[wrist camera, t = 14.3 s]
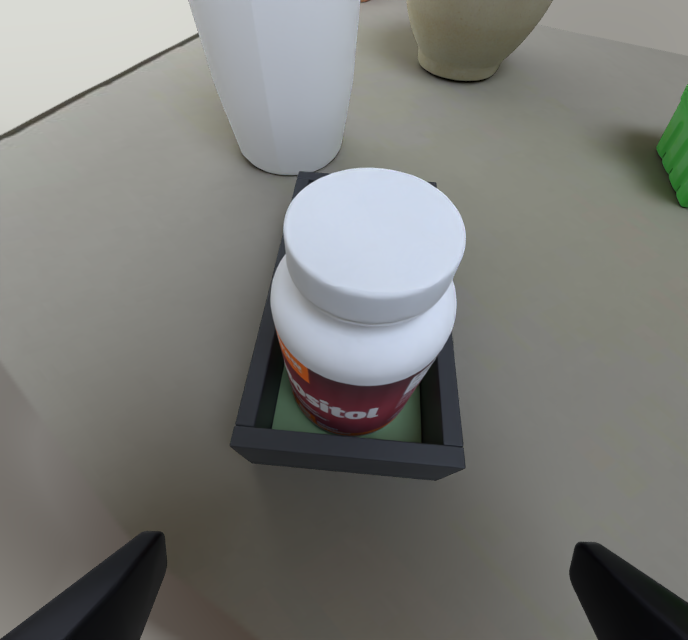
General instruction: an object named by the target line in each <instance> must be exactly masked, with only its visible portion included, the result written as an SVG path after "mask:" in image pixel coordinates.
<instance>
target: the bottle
mask: <svg viewBox="0 0 688 640" xmlns="http://www.w3.org/2000/svg"><path fill="white" fill-rule="evenodd" d="M188 1H189V4H190V7H191V11H192V14H193V17H194V20H195V23H196V27H197V30H198V33H199V37H200V40H201V43H202V46H203V50H204V53H205V56H206V59H207V63H208V66H209V69H210V72H211V76H212V79H213V82H214V85H215V87H216V90H217V93H218V95H219V98H220V100H221V103H222V105H223V108H224V110H225V113H226V115H227V118H228V120H229V123H230V125H231V128H232V130H233V133H234V135H235V138H236V140H237V143H238V145H239V148H240V150H241V152H242V154H243V155H244V156H245V157H246V158H247V159H248V160H249V161H250V162H251V163H252V164H253V165H255V166H256V167H258V168H260V169H262V170H264V171H266V172H269V173H274V174H279V175H298V173H299V171H304V172H314V171H316V170H318V169H321V168H323V167H325V166H326V165H327V164H328V163H329V162H331V161H332V160H333V159H334V158H335V156H336V155H337V154H338V152H339V149H340V147H341V145H342V140H343V134H344V129H345V123H346V118H347V112H348V107H349V101H350V96H351V90H352V85H353V76H354V65H355V54H356V43H357V32H358V21H359V11H360V0H188Z"/></svg>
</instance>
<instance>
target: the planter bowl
mask: <svg viewBox="0 0 688 640" xmlns="http://www.w3.org/2000/svg"><path fill="white" fill-rule="evenodd" d="M552 1H553V0H407V8H408V14H409V20H410V24H411V28H412V31H413V35H414V38H415V40H416V43H417V45H418V61H419V63H420V65H421V66H422V67H423V68H424V69H425V70H427V71H429V72H430V73H432V74H433V75H438V76H440V77H444V78H448V79H453V80H461V81H476V80H482V79H486V78H489V77H490V76H492V75H493V74H494V73H495V72H496V71H497V69H498V67H499V65H500V63H501V62H502V61H503V60H504V59H505V58H506V57H507V56H509V55H510V54H511V53H512V52H513V51H514V50H515V49H516V48H517V47H518V46H519V45H520V44H521V43H522V42H523V41H524V40H525V39H526V37H527V36H528V35H529V34H530V33H531V31H532V30H533V29H534V28H535V26H536V25H537V24H538V22H539V21H540V20H541V18H542V17H543V15H544V14H545V12H546V11H547V9H548V7H549V6H550V4H551V3H552Z"/></svg>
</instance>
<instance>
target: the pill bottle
mask: <svg viewBox="0 0 688 640" xmlns="http://www.w3.org/2000/svg"><path fill="white" fill-rule="evenodd" d="M283 233H284V242H285V251H286V254H285V255H284V257H283V258H282V260H281V261H280V263H279V265H278V267H277V269H276V272H275V275H274V278H273V281H272V287H271V296H270V302H271V311H272V316H273V320H274V324H275V328H276V332H277V336H278V339H279V343H280V347H281V351H282V355H283V358H284V362H285V366H286V369H287V373H288V377H289V381H290V384H291V388H292V392H293V395H294V398H295V400H296V402H297V404H298V406H299V408H300V410H301V411H302V412H303V414H304V415H305V416H306V417H307V418H308V419H309V420H310V421H311V422H312V423H313V424H315V425H316V426H318V427H319V428H321V429H322V430H324V431H327V432H329V433H332V434H336V435H340V436H351V437H357V436H364V435H368V434H371V433H374V432H376V431H378V430H380V429H382V428H384V427H385V426H387V425H388V424H389V423H390V422H391V421H392V420H394V419H395V418H396V416H397V415H398V414H399V413H400V411H401V410H402V409H403V407H404V406H405V404H406V403H407V401H408V399H409V398H410V396H411V395H412V394H413V392H414V390H415V389H416V387H417V386H418V384H419V383H420V381H421V380H422V378H423V377H424V375H425V374H426V373H427V371H428V369H429V368H430V366H431V365H432V364H433V362H434V361H435V359H436V357H437V356H438V355H439V353H440V351H441V350H442V349H443V347H444V345H445V343H446V341H447V339H448V338H449V336H450V334H451V331H452V328H453V325H454V321H455V317H456V308H457V300H456V291H455V286H454V283H453V280H452V279H453V277H454V275H455V273H456V270H457V268H458V266H459V264H460V262H461V259H462V257H463V254H464V250H465V244H466V232H465V227H464V223H463V221H462V218H461V215H460V214H459V212H458V210H457V209H456V207H455V206H454V204H453V203H452V202H451V201H450V200H449V199H448V197H447V196H446V195H445V194H444V193H442V192H441V191H440V190H438V189H437V188H435V187H434V186H432V185H431V184H430V183H428V182H426V181H424V180H422V179H420V178H418V177H415V176H413V175H410V174H407V173H403V172H399V171H395V170H390V169H382V168H354V169H347V170H343V171H339V172H335V173H332V174H329V175H327V176H324V177H321V178H319V179H318V180H316V181H314V182H312V183H311V184H309V185H308V186H306V187H305V188H304V189H303V190H301V191H300V192H299V193H298V194H297V195H296V197H295V198H294V199H293V200H292V202H291V204H290V205H289V207H288V210H287V212H286V215H285V219H284V226H283Z"/></svg>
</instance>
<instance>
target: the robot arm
mask: <svg viewBox="0 0 688 640" xmlns="http://www.w3.org/2000/svg"><path fill="white" fill-rule="evenodd" d="M166 568H167V555H166V544H165V536H164V534H163V532H160V531H144V532H142V533H140V534H139V535H137V536H136V537H135V538H133V539H132V540H131V541H129V542H128V543H127V544H125V545H124V546H123V547H122V548H120V549H119V550H117V551H116V552H115V553H113V554H112V555H111V556H109V557H108V558H107V559H105V560H104V561H103V562H102V563H100V564H99V565H98V566H96V567H95V568H94V569H92V570H91V571H90V572H88V573H87V574H86V575H84V576H83V577H82V578H80V579H79V580H78V581H77V582H75V583H74V584H72V585H71V586H70V587H69V588H67V589H66V590H65V591H63V592H62V593H61V594H59V595H58V596H57V597H55V598H54V599H53V600H51V601H50V602H49V603H48V604H46V605H45V606H43V607H42V608H41V609H39V611H37V612H36V613H34V614H33V615H32V616H30V617H29V618H28V619H26V620H25V621H24V622H22V623H21V624H20V625H18V626H17V627H16V628H14V629H13V630H12V631H10V632H9V633H8V634H6V635H5V636H4V637H3V638H1V639H0V640H140V637H141V635H142V632H143V630H144V627H145V625H146V622H147V619H148V617H149V614H150V612H151V609H152V606H153V604H154V601H155V599H156V596H157V594H158V591H159V588H160V586H161V583H162V581H163V578H164V575H165V572H166ZM569 575H570V580H571V583H572V586H573V588H574V590H575V592H576V594H577V596H578V599H579V601H580V603H581V605H582V607H583V609H584V611H585V613H586V615H587V618H588V620H589V622H590V624H591V626H592V628H593V630H594V632H595V634H596V637H597V639H598V640H688V603H687V602H686V601H684V600H683V599H681V598H680V597H679V596H677V595H676V594H674V593H673V592H671V591H670V590H668V589H667V588H665V587H664V586H662V585H661V584H659V583H658V582H656V581H655V580H653V579H652V578H650V577H649V576H647V575H646V574H644V573H643V572H641V571H640V570H638V569H637V568H635V567H634V566H632V565H631V564H629V563H628V562H626V561H625V560H623V559H622V558H620V557H619V556H617V555H616V554H614V553H613V552H611V551H610V550H608V549H607V548H605V547H604V546H602V545H601V544H599V543H596V542H578V543H577V544H576V545H575V548H574V553H573V557H572V561H571V565H570V570H569Z"/></svg>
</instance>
